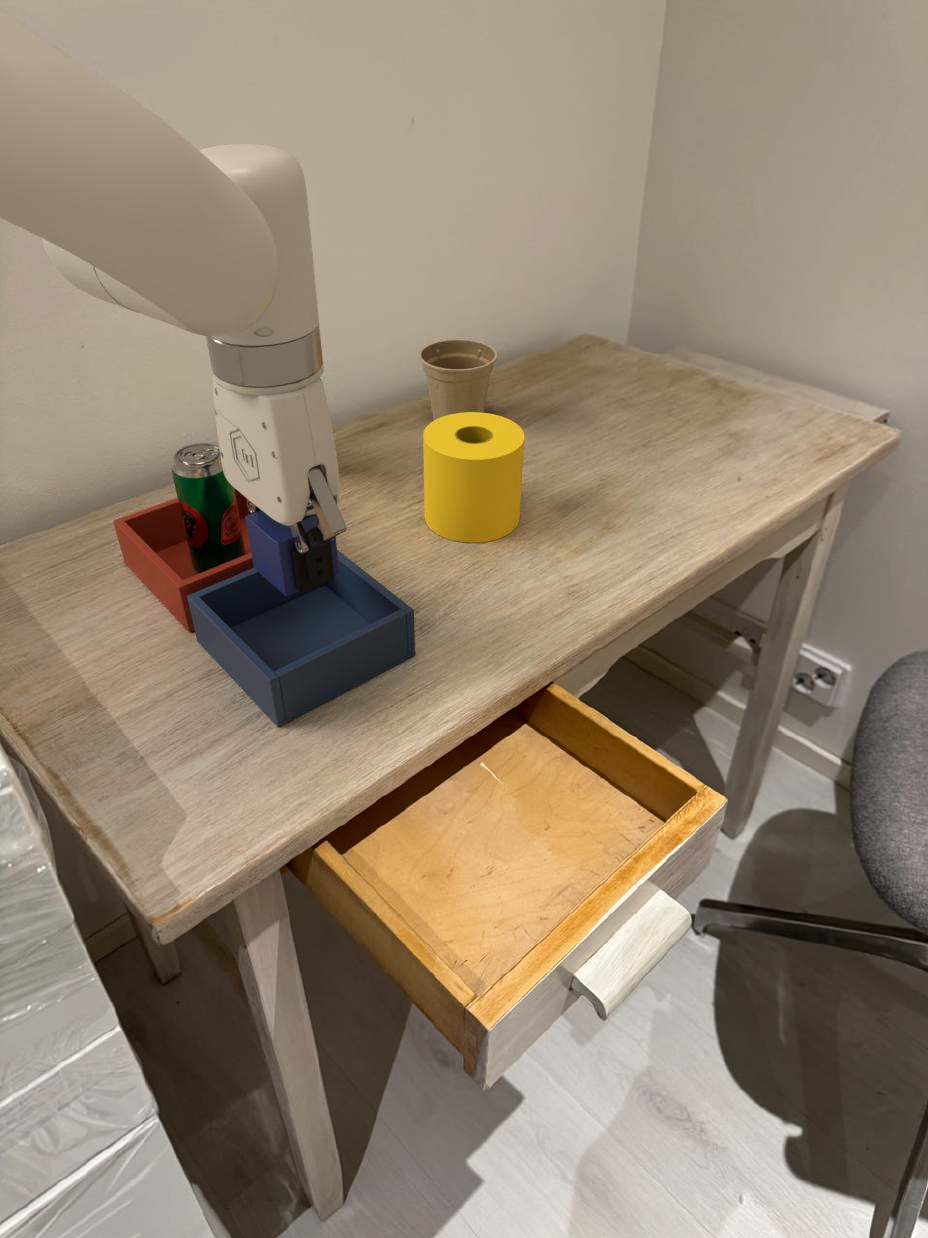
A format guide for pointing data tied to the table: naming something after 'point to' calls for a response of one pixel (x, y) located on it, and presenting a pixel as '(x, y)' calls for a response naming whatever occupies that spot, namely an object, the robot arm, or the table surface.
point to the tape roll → (472, 476)
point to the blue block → (277, 550)
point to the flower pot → (457, 375)
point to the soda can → (207, 506)
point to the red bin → (173, 555)
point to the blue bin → (302, 637)
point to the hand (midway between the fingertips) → (295, 566)
